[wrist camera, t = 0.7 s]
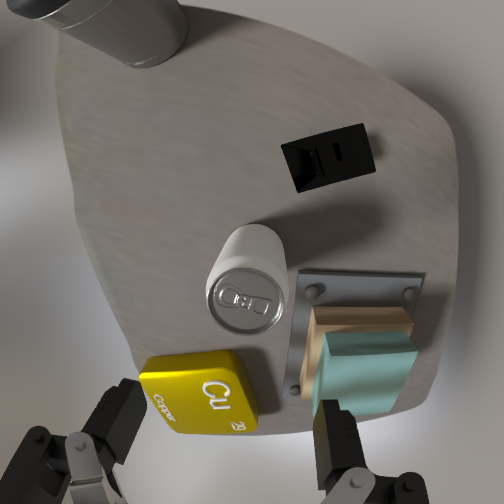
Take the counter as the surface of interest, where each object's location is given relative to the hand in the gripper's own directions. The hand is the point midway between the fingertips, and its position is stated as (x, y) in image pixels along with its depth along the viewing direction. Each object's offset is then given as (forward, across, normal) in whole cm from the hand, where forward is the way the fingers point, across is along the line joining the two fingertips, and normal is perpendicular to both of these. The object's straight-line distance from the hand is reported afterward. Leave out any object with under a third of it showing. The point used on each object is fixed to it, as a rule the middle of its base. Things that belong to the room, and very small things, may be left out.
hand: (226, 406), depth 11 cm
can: (+22, 0, 0) cm, 22 cm away
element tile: (+22, +7, +23) cm, 33 cm away
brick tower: (+22, -13, +12) cm, 28 cm away
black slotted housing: (+22, -8, -11) cm, 26 cm away
